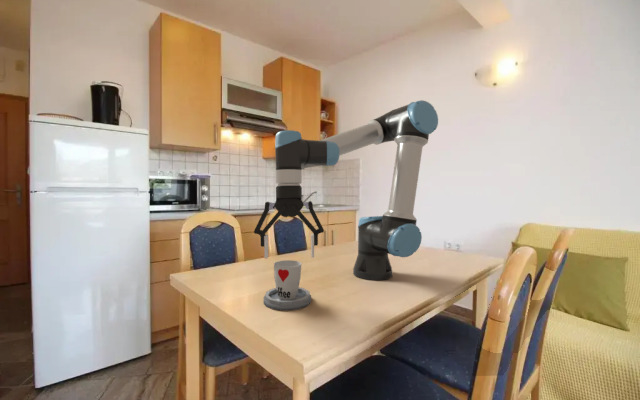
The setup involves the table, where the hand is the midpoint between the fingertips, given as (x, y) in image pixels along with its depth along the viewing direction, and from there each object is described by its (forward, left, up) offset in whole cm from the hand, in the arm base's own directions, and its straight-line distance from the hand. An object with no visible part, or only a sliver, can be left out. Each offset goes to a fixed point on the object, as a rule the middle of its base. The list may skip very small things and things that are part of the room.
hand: (289, 257), depth 86 cm
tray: (0, 0, -13) cm, 13 cm away
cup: (+1, 0, -12) cm, 12 cm away
